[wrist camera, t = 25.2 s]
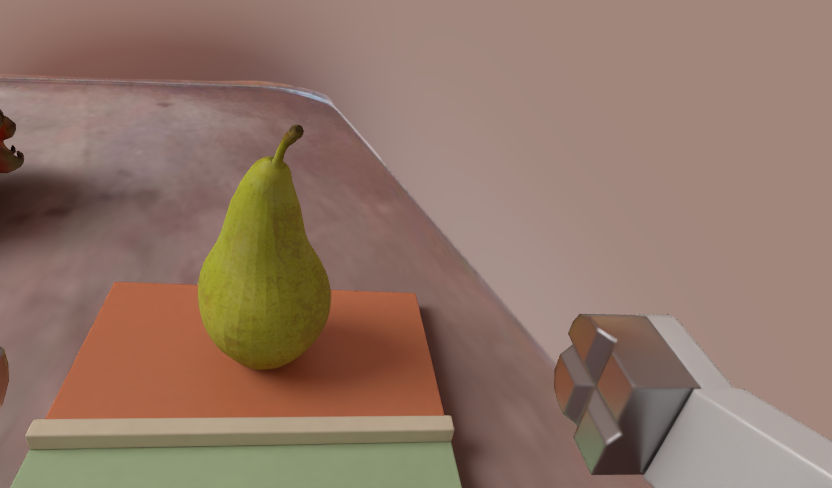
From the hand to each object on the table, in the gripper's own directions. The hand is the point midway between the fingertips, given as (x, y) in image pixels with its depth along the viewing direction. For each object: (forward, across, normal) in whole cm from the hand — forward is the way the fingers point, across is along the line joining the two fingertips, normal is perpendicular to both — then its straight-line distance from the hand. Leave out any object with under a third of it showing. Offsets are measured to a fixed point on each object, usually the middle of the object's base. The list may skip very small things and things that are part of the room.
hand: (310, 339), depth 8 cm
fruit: (+14, +2, +14) cm, 20 cm away
